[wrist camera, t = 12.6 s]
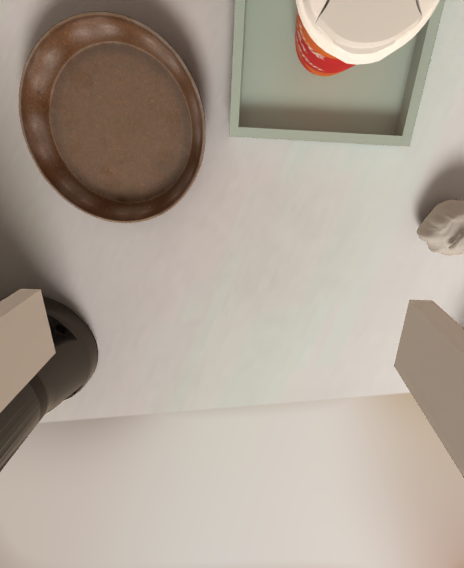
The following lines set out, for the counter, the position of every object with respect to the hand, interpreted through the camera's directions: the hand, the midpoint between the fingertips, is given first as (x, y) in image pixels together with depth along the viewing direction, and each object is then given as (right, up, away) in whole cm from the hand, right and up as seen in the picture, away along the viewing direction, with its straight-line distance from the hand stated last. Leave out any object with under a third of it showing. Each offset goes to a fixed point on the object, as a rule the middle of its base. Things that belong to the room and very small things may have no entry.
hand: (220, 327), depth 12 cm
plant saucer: (-10, +17, +22) cm, 30 cm away
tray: (+9, +23, +17) cm, 30 cm away
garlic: (+22, +8, +22) cm, 32 cm away
